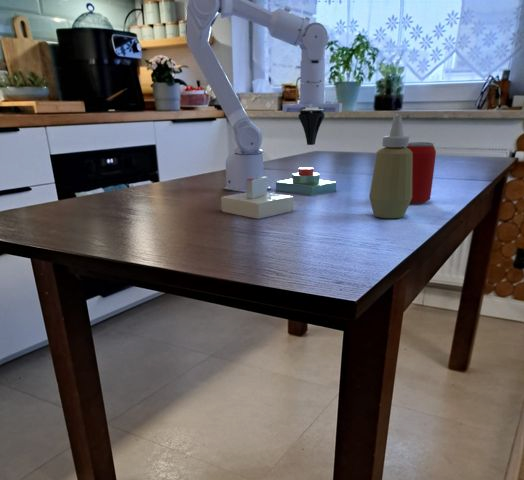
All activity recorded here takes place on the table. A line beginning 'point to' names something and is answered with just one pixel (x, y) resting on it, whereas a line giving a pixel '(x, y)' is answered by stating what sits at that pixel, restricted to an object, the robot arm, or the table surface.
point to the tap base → (257, 205)
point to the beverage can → (422, 170)
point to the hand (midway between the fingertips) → (311, 144)
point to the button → (306, 171)
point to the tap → (256, 187)
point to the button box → (306, 185)
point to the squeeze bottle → (392, 175)
